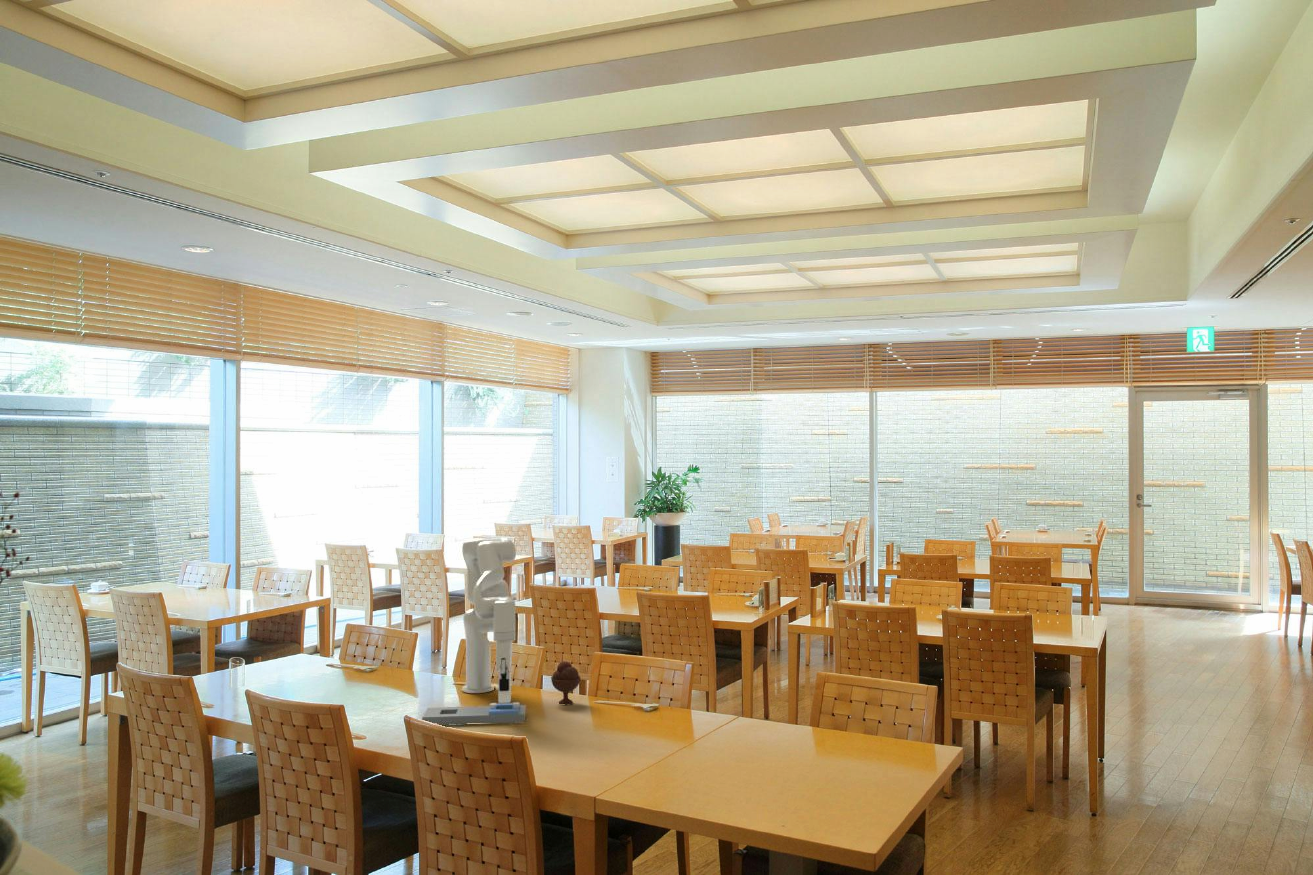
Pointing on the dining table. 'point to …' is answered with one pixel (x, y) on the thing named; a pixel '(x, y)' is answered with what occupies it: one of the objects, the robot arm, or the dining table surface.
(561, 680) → the ice cream bowl
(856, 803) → the dining table surface
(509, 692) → the cord plug
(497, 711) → the board
